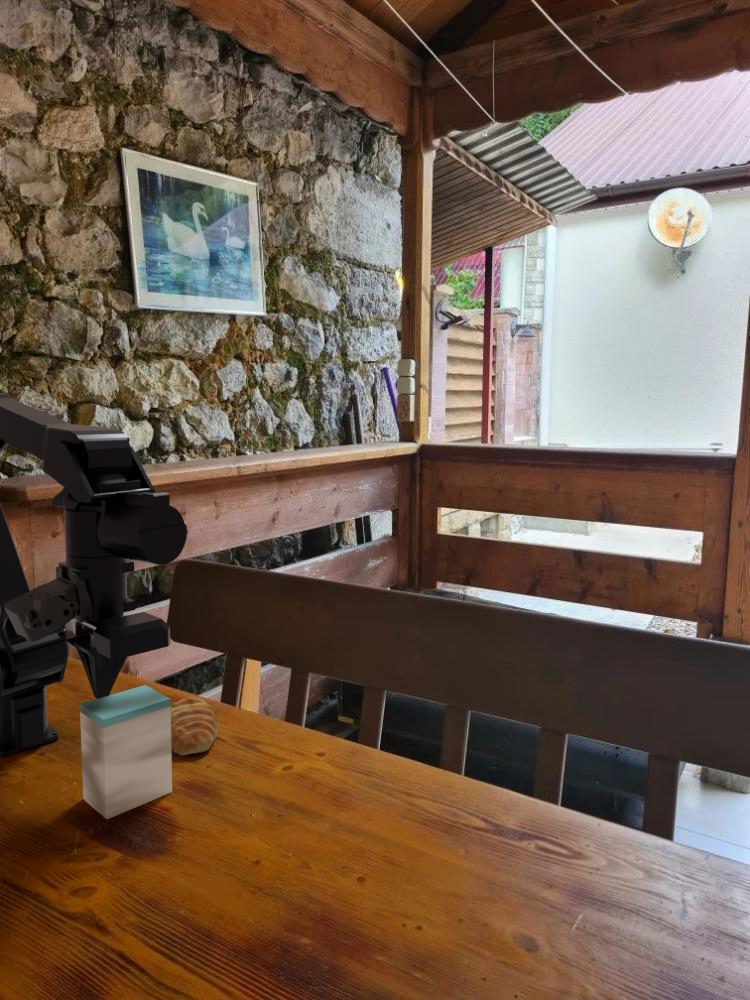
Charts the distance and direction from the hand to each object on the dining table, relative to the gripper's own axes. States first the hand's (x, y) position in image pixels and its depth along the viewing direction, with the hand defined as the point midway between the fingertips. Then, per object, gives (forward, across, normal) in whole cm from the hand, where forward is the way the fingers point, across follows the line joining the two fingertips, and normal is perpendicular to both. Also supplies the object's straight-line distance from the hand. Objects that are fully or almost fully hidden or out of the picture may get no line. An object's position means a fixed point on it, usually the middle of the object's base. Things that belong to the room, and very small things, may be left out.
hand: (101, 698), depth 75 cm
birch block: (+9, +5, 0) cm, 10 cm away
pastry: (+9, -2, +12) cm, 15 cm away
